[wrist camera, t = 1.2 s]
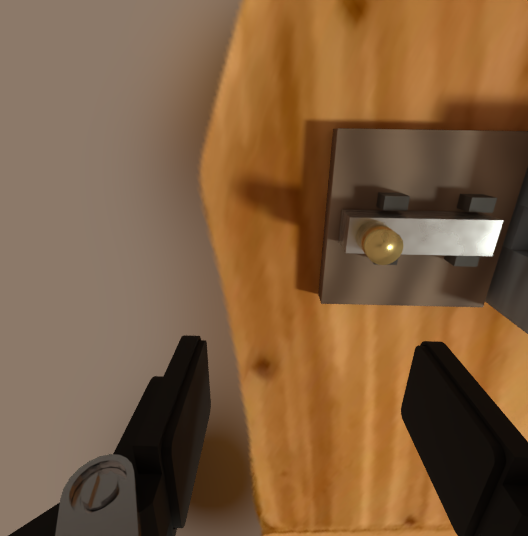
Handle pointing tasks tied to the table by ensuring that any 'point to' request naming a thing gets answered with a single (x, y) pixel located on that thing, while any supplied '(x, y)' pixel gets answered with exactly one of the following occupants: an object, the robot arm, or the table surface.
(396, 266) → the frame
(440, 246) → the bolt
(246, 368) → the table surface
